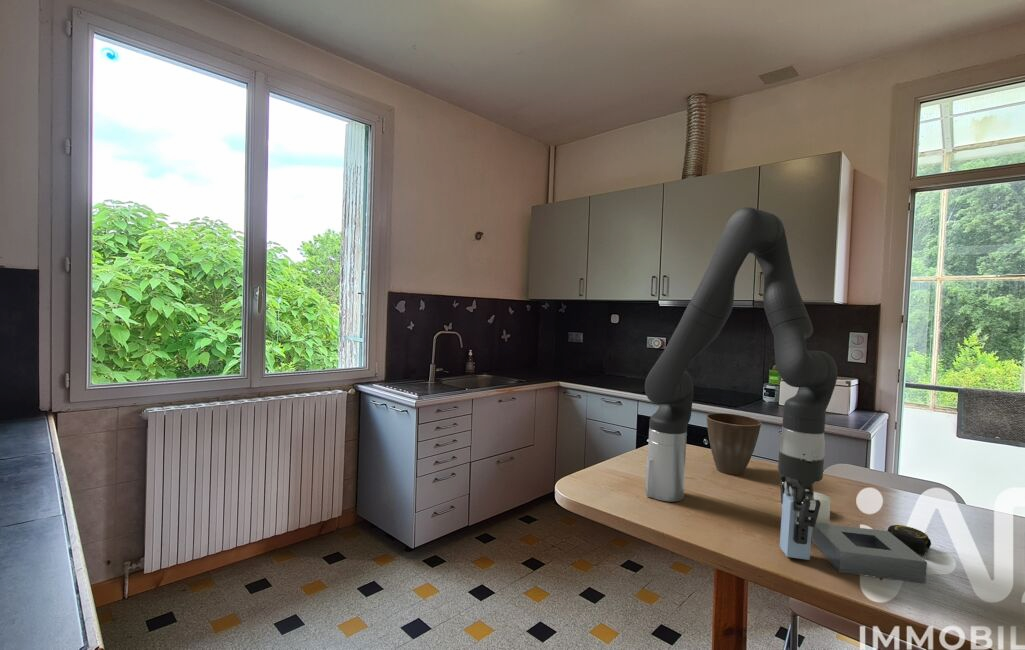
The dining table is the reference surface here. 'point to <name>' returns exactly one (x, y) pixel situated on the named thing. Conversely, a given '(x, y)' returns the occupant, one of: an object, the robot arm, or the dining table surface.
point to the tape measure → (911, 538)
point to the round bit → (823, 508)
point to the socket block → (868, 553)
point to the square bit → (792, 533)
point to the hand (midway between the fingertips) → (795, 536)
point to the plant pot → (732, 441)
